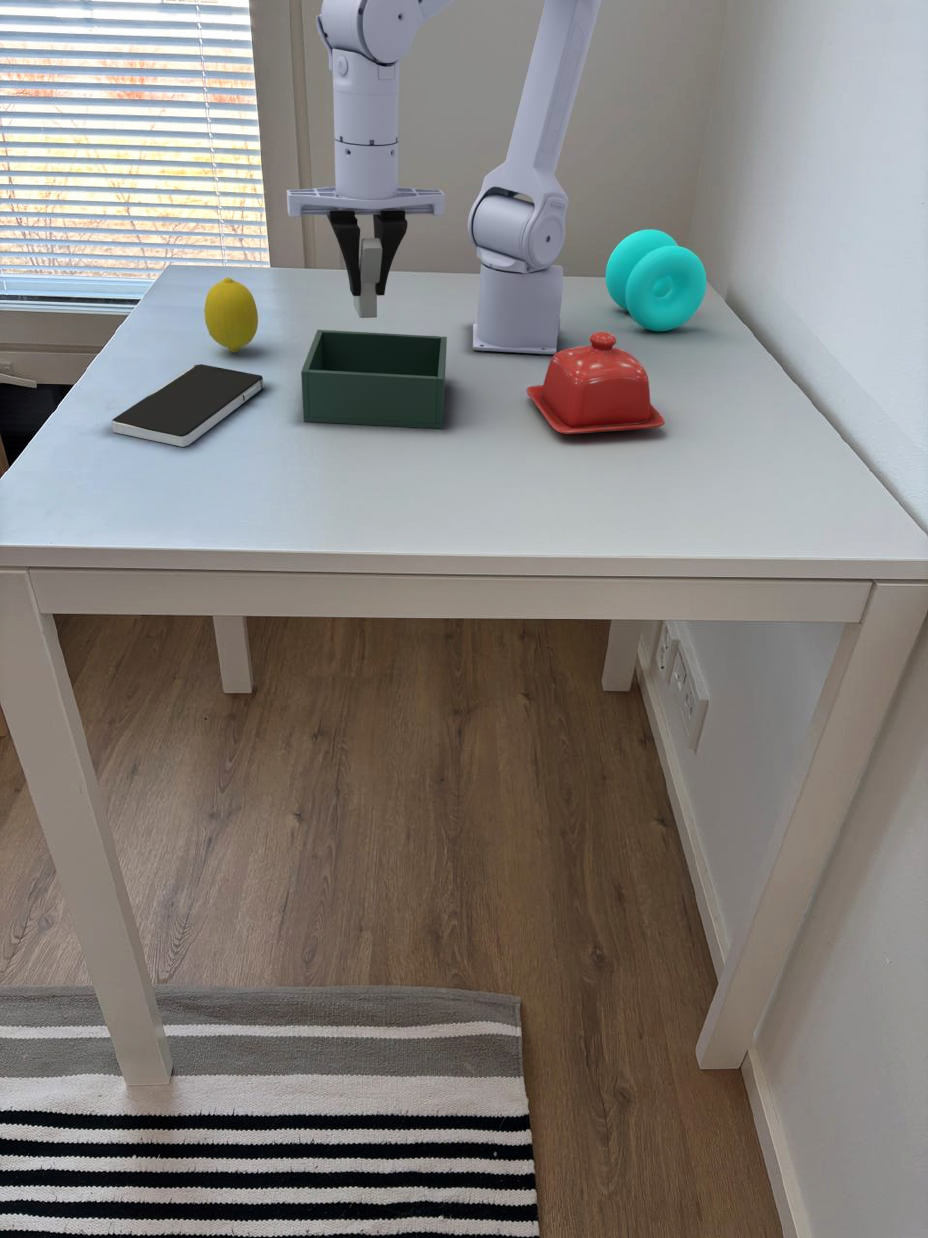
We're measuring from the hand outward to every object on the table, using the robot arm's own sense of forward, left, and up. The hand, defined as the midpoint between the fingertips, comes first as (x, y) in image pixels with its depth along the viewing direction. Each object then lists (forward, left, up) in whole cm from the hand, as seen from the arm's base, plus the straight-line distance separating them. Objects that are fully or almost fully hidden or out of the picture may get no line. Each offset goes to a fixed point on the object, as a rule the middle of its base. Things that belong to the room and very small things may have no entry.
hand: (367, 292), depth 94 cm
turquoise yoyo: (-33, -25, -10) cm, 42 cm away
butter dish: (-23, +5, -10) cm, 25 cm away
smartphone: (+16, +8, -10) cm, 20 cm away
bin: (-1, +4, -9) cm, 10 cm away
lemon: (+15, -7, -10) cm, 19 cm away
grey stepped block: (0, 0, -2) cm, 3 cm away
